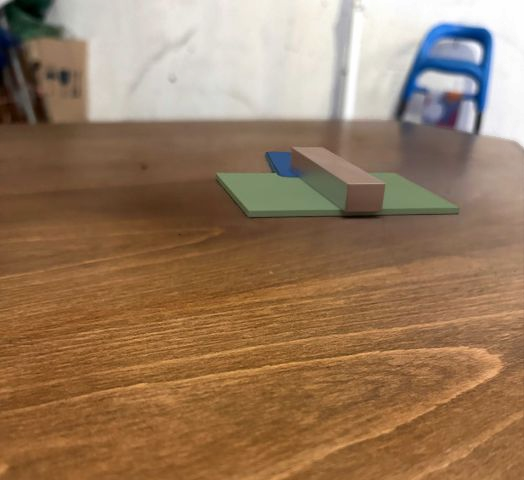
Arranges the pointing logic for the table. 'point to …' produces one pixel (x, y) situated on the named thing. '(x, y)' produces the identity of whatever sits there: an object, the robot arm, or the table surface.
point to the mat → (315, 204)
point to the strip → (338, 179)
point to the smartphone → (280, 163)
